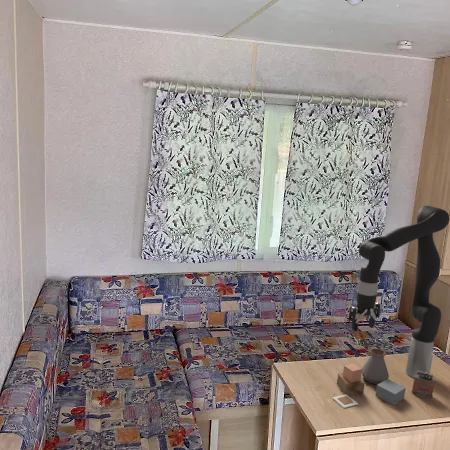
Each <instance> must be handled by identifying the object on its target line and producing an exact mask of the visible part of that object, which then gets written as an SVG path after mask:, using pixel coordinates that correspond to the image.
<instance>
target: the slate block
mask: <svg viewBox="0 0 450 450" xmlns="http://www.w3.org/2000/svg"><path fill="white" fill-rule="evenodd" d="M405 395H406V387H405V386H403V385H401V384H399V383H397V382H395V381H393V380H391V379H389V378H388V379H387V380H385V381H383V382H381V383H380V384H376V391H375V396H376V397H377V398H379V399H381V400H383V401H384V402H387V403H389V404H391V405H393V406H394V405H396V404H397V403H399V402H401V401H403V400H404V399H405Z"/></svg>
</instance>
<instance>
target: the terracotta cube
mask: <svg viewBox="0 0 450 450" xmlns="http://www.w3.org/2000/svg"><path fill="white" fill-rule="evenodd" d="M342 370H343V371H342V372H343V377H344V378H345V379H347V380H348V381H350V382H351V383H352V382H355V381H359V380H361V379H362V367H360V366H358V365H356V364H355V363H349V364H345V365H344V366H343V369H342Z"/></svg>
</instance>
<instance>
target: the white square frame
mask: <svg viewBox="0 0 450 450" xmlns="http://www.w3.org/2000/svg"><path fill="white" fill-rule="evenodd" d="M331 399H333V400H334V401H335V402H336V403H337V404H338V405H340V407H342V408H343V409H347V408H350V407H355V406H358V405H359V403H358V402H357V401H356V400H355V399H353V398H352V397H350V395H349V394H348V395H347V394H342V395H338V396H333V397H332V398H331Z"/></svg>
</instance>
